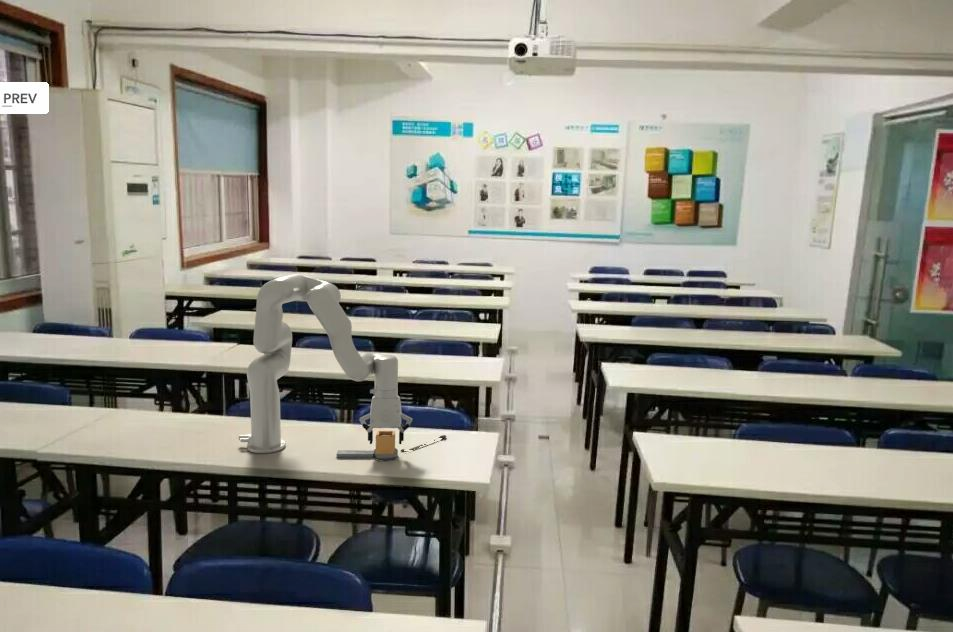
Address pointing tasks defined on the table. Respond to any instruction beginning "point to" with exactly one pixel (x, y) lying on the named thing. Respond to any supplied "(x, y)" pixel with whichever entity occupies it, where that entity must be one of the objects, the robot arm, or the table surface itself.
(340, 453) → the ratchet
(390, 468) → the table surface
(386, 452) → the socket
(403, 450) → the tomahawk
